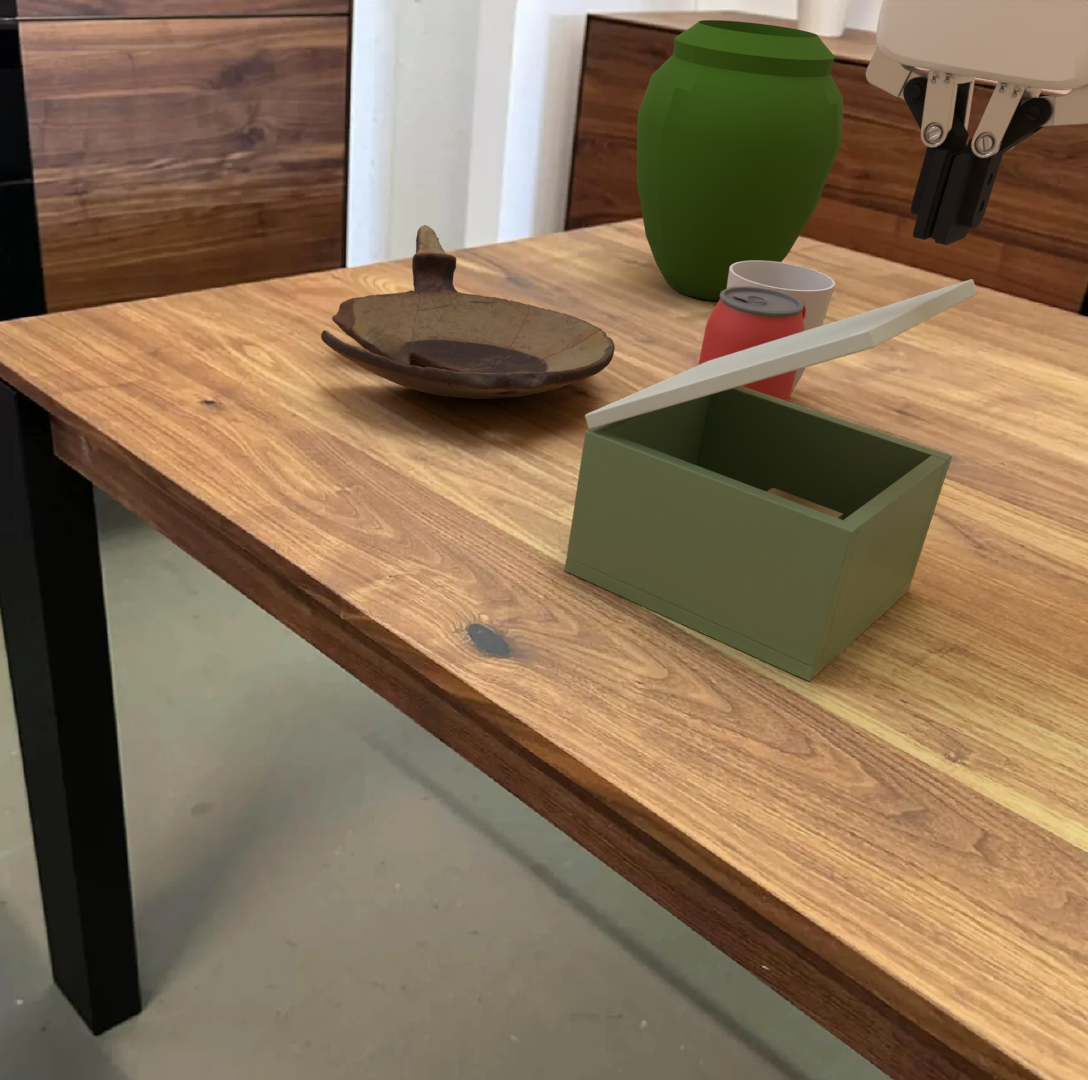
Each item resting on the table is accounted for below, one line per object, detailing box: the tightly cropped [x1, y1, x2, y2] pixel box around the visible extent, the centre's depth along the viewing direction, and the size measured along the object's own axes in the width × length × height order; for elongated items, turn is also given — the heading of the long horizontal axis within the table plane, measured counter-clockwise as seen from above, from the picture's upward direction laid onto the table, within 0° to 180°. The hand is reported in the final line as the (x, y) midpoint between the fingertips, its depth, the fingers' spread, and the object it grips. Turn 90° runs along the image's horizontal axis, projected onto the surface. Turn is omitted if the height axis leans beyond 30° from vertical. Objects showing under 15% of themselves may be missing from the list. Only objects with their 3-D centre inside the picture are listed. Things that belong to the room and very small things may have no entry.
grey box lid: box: [584, 278, 977, 430], centre depth 66 cm, size 17×14×1 cm
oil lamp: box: [320, 224, 616, 400], centre depth 96 cm, size 22×30×8 cm
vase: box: [636, 19, 844, 302], centre depth 118 cm, size 20×20×24 cm
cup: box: [727, 261, 836, 394], centre depth 97 cm, size 8×8×10 cm
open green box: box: [564, 386, 953, 682], centre depth 70 cm, size 16×14×9 cm
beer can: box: [697, 286, 804, 402], centre depth 84 cm, size 7×7×12 cm
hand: (939, 236), depth 58 cm, fingers closed
